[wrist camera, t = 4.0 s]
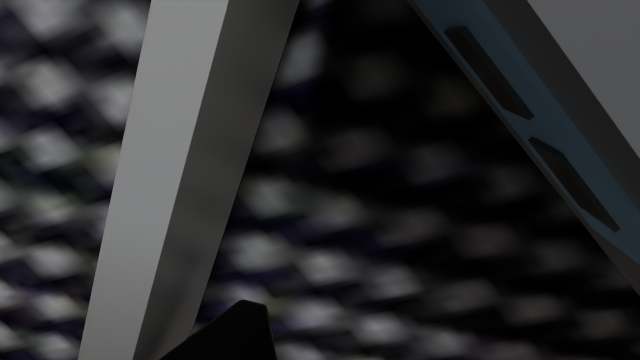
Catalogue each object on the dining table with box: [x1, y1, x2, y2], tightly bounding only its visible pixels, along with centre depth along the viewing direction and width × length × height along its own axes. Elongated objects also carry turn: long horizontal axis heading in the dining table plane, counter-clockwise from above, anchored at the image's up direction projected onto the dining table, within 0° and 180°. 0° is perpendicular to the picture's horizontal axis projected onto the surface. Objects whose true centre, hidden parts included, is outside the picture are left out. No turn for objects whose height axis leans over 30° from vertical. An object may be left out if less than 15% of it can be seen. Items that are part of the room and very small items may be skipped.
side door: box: [78, 0, 300, 360], centre depth 7 cm, size 10×2×5 cm, turn 159°
